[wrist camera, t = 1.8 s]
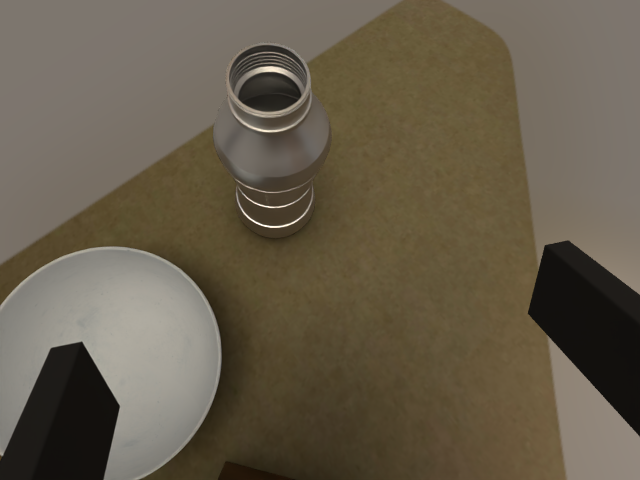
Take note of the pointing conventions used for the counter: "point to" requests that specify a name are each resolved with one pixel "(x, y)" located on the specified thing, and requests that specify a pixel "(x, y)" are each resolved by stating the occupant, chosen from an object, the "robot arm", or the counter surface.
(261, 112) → the metal bottle
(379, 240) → the counter surface
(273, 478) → the walnut box
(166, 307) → the chinaware
